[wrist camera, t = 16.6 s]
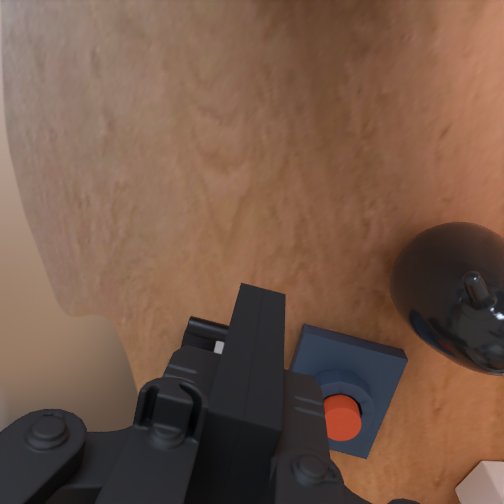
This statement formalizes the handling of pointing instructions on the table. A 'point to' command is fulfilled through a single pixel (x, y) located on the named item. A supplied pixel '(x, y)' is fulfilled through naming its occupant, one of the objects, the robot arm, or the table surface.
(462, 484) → the jar
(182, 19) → the table surface
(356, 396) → the button block
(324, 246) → the table surface
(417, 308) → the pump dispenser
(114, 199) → the table surface
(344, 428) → the button
